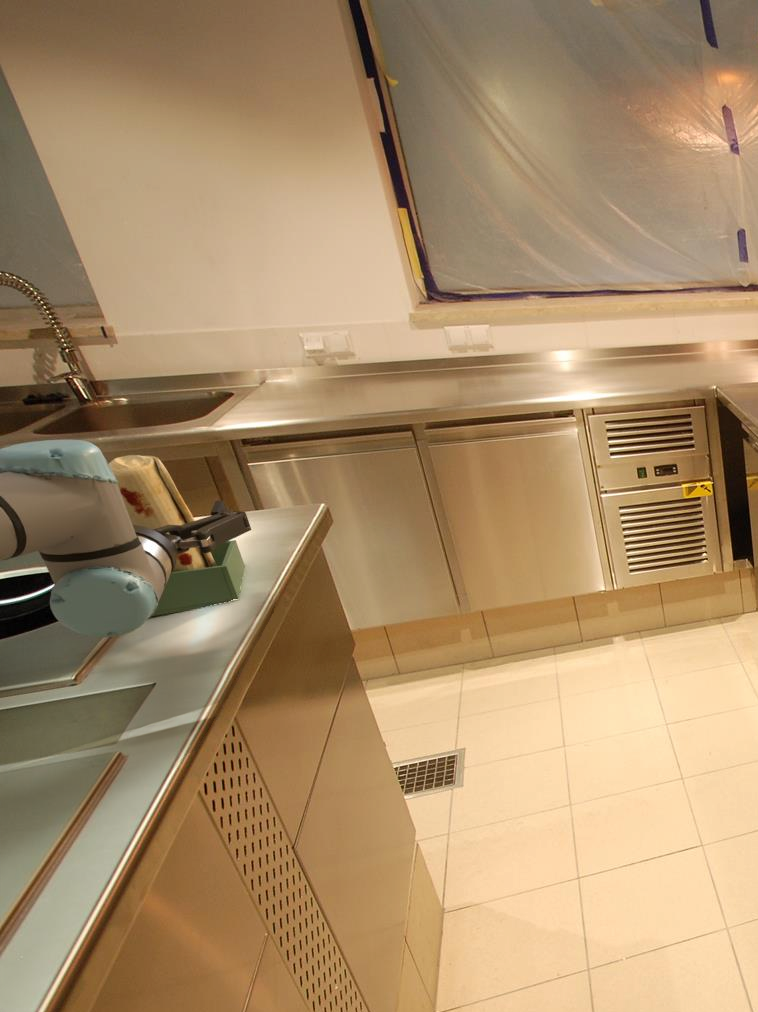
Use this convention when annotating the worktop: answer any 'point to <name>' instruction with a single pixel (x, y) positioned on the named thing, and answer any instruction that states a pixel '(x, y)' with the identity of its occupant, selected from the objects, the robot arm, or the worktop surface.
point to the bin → (204, 583)
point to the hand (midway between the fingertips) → (158, 516)
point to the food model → (155, 502)
